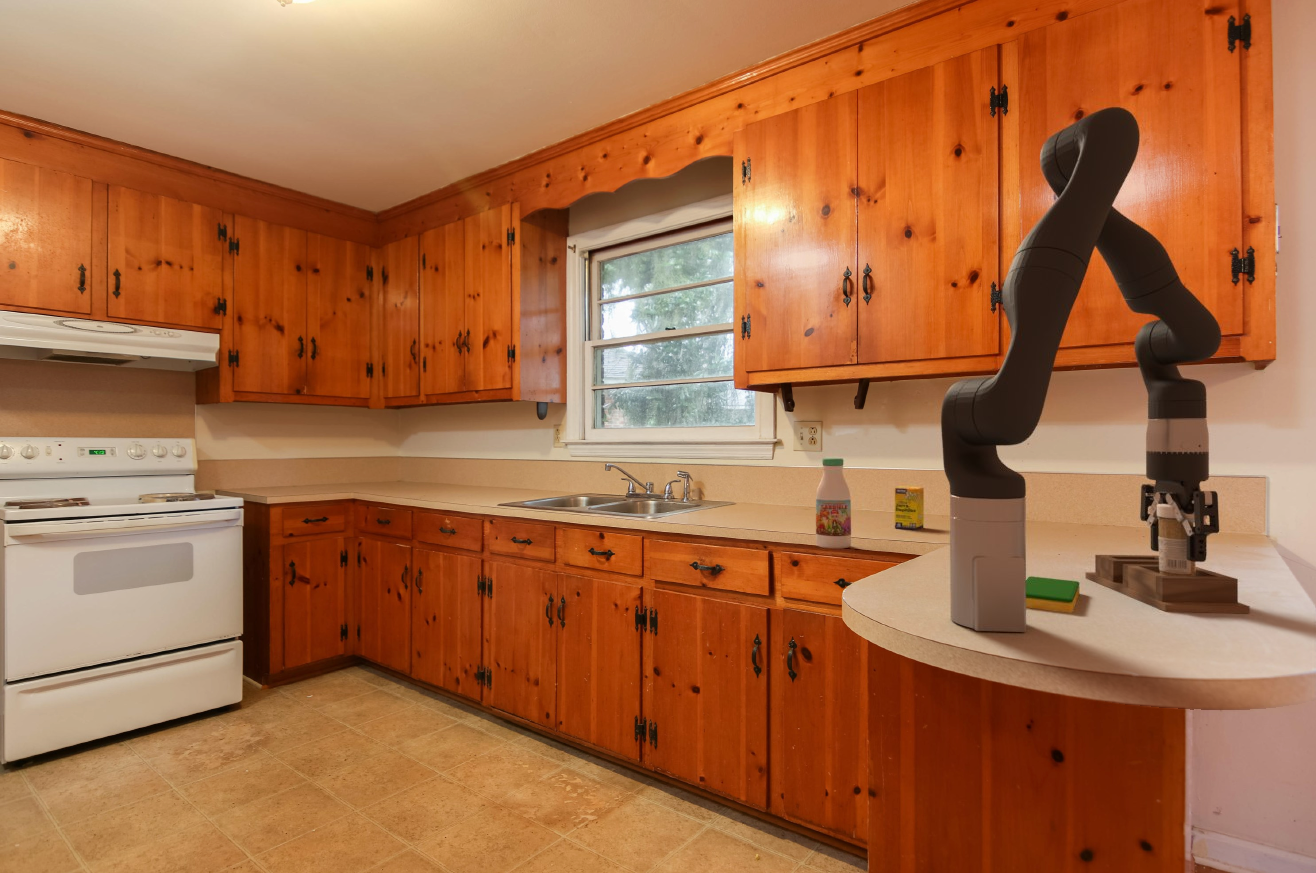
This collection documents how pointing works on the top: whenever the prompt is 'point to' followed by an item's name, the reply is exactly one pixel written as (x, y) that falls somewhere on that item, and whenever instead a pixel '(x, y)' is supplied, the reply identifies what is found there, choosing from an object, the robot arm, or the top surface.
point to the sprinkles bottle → (1172, 544)
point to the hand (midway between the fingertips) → (1177, 555)
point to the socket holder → (1167, 585)
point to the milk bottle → (833, 507)
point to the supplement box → (909, 507)
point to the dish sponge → (1051, 594)
